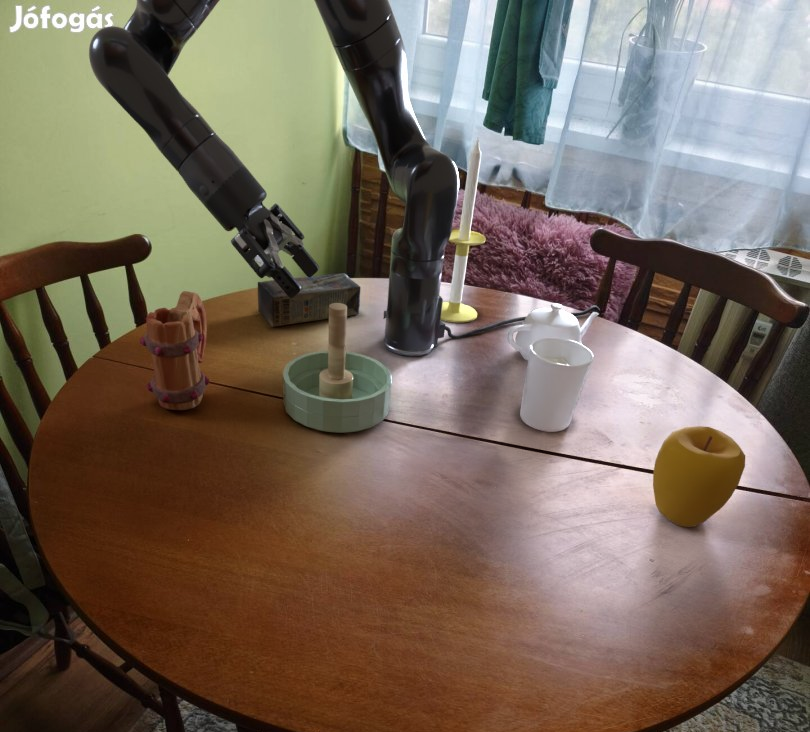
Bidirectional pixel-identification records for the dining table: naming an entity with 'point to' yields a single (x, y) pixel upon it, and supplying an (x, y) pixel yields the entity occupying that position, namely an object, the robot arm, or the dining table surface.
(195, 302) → the mug
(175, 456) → the dining table surface
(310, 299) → the beverage carton
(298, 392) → the bowl
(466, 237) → the candle
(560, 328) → the teapot
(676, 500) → the apple
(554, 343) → the white cup
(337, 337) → the wooden masher
